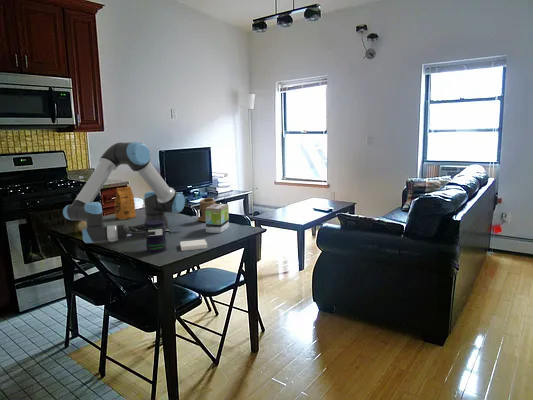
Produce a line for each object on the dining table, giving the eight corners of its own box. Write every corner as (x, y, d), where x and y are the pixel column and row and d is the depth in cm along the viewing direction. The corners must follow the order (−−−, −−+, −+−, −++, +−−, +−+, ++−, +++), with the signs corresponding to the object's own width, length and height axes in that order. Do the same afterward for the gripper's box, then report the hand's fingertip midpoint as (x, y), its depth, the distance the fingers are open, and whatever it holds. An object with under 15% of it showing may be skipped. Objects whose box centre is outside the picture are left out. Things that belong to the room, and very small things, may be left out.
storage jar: (142, 252, 201) (140, 223, 198) (154, 246, 210) (152, 219, 207) (159, 254, 198) (157, 224, 195) (170, 248, 207) (168, 220, 204)
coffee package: (113, 219, 280) (110, 187, 276) (129, 215, 289) (127, 185, 286) (121, 220, 274) (118, 188, 270) (137, 217, 283) (134, 186, 279)
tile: (181, 247, 202) (207, 244, 205) (180, 241, 211) (204, 239, 214) (181, 251, 202) (207, 248, 205) (180, 246, 211) (205, 243, 215)
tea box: (222, 233, 234) (220, 208, 231) (205, 232, 236) (204, 208, 233) (229, 226, 248) (228, 203, 246) (214, 226, 250) (212, 203, 248)
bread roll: (91, 229, 253) (89, 216, 252) (100, 233, 242) (99, 220, 241) (75, 232, 247) (73, 219, 245) (84, 236, 236) (82, 223, 235)
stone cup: (204, 223, 258) (202, 200, 255) (195, 220, 267) (194, 198, 265) (224, 220, 267) (223, 197, 264) (215, 217, 276) (214, 195, 274)
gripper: (120, 234, 210) (162, 230, 215) (115, 247, 186) (163, 242, 191) (118, 220, 208) (161, 216, 214) (114, 231, 185) (161, 227, 190)
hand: (162, 228), depth 203 cm, fingers open, 13 cm apart
